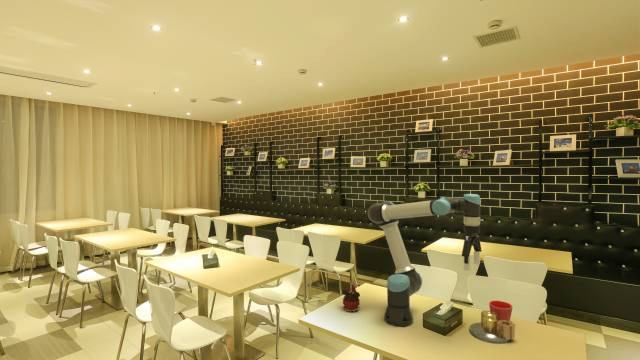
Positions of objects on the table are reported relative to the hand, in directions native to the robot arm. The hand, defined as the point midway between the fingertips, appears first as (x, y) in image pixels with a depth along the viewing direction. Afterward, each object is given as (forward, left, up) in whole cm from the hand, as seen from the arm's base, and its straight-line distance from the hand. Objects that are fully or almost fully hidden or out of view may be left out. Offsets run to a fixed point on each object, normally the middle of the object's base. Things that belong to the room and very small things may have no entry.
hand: (471, 267), depth 166 cm
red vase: (-64, 0, -32) cm, 72 cm away
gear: (+15, -5, -30) cm, 34 cm away
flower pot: (+14, +14, -32) cm, 38 cm away
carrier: (+8, -2, -32) cm, 33 cm away
